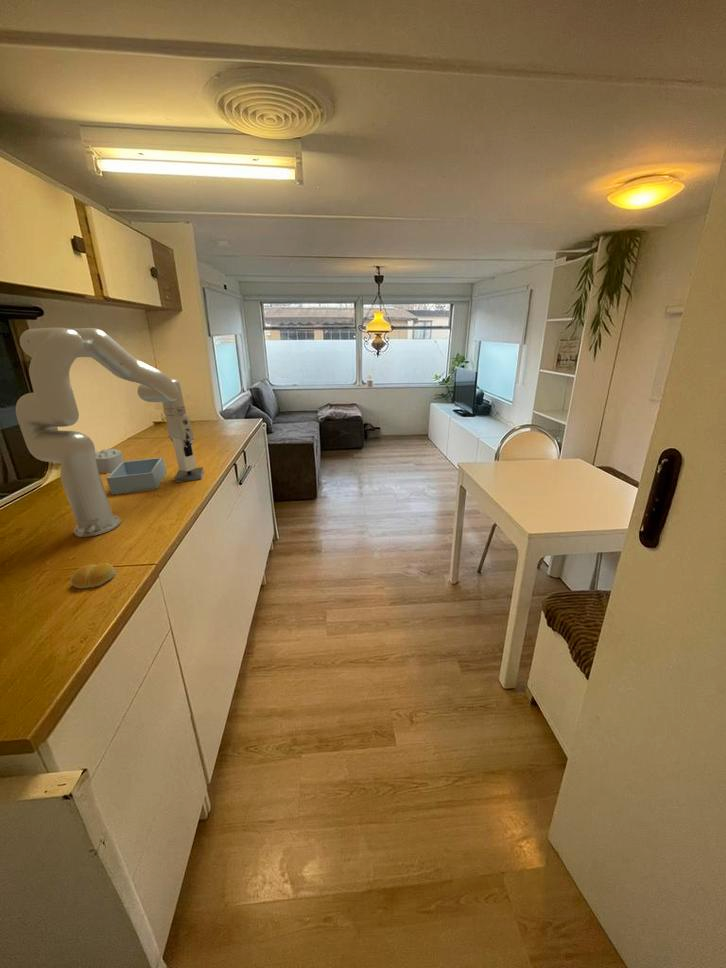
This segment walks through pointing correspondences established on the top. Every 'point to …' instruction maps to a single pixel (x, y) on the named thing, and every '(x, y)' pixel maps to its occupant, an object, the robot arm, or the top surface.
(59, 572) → the top surface
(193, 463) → the strut
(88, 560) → the top surface
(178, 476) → the stud base
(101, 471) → the lumpy-topped squat cylinder
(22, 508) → the top surface
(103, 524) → the robot arm
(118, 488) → the bin
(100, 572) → the bread roll
